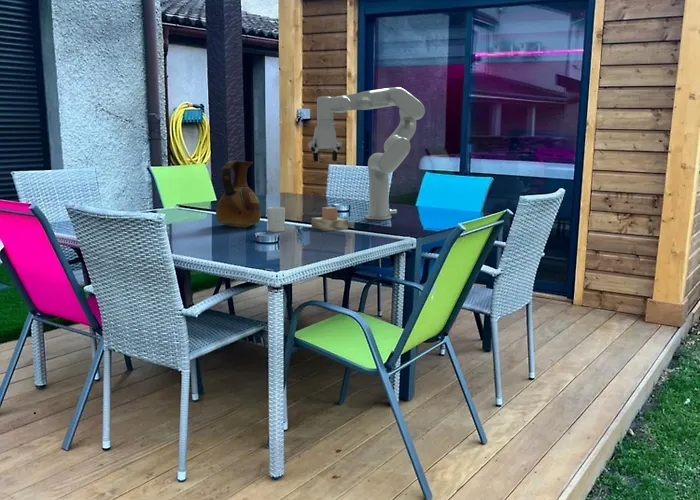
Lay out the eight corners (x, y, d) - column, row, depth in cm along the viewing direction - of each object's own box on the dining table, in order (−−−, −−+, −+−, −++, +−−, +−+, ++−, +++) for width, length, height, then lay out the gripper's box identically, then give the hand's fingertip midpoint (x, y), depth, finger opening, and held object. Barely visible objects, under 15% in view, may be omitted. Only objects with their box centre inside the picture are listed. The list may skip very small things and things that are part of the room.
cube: (332, 217, 304) (332, 206, 303) (337, 219, 300) (337, 208, 299) (322, 218, 302) (322, 207, 301) (327, 220, 297) (327, 208, 296)
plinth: (335, 224, 310) (335, 216, 309) (347, 228, 299) (347, 219, 298) (311, 226, 304) (311, 218, 303) (323, 230, 294) (323, 221, 293)
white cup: (282, 232, 289) (282, 209, 287) (264, 231, 291) (264, 208, 289) (287, 229, 297) (287, 207, 295) (270, 228, 298) (270, 206, 296)
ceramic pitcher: (269, 225, 308) (268, 159, 302) (244, 232, 290) (242, 162, 284) (233, 222, 316) (231, 157, 310) (207, 228, 298) (204, 160, 292)
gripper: (337, 123, 319) (337, 160, 322) (304, 123, 310) (305, 161, 314) (345, 123, 312) (345, 161, 316) (311, 124, 304) (312, 162, 307)
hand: (325, 161), depth 315 cm, fingers open, 9 cm apart
